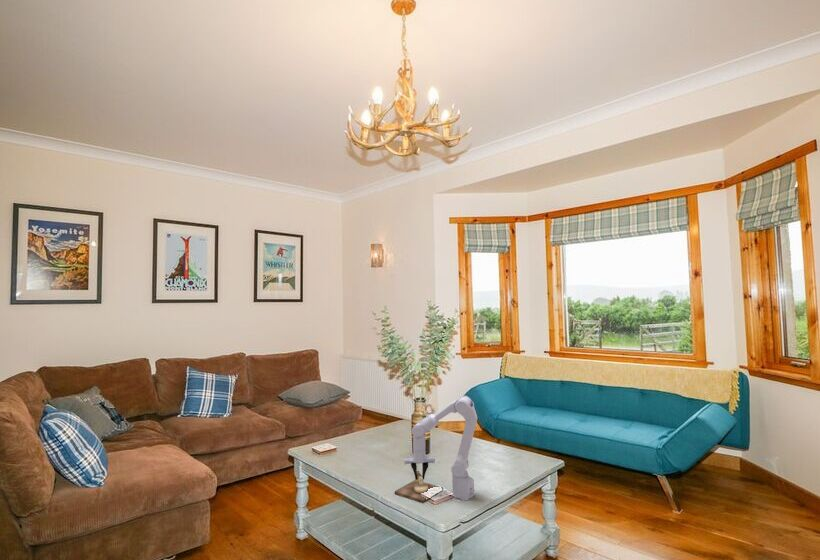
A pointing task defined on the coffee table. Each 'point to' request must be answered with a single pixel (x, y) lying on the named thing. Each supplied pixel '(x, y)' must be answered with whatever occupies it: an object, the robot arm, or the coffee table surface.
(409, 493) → the plate
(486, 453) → the coffee table surface
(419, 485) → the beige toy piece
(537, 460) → the coffee table surface
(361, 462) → the coffee table surface
